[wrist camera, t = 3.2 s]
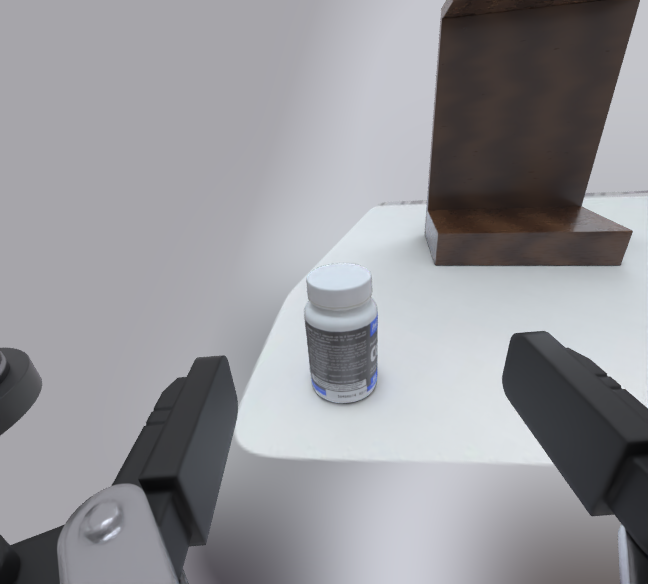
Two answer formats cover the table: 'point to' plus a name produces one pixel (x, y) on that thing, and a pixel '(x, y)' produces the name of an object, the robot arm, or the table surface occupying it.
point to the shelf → (523, 131)
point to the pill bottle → (341, 332)
